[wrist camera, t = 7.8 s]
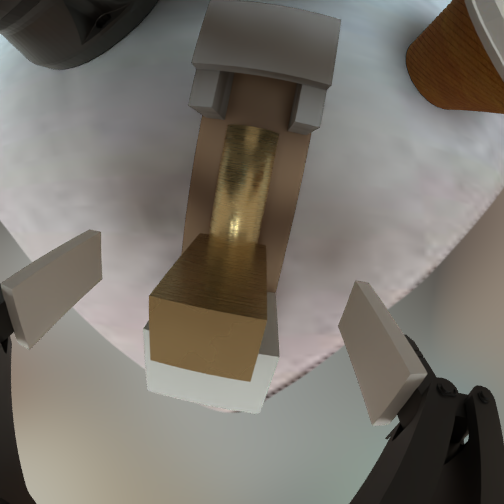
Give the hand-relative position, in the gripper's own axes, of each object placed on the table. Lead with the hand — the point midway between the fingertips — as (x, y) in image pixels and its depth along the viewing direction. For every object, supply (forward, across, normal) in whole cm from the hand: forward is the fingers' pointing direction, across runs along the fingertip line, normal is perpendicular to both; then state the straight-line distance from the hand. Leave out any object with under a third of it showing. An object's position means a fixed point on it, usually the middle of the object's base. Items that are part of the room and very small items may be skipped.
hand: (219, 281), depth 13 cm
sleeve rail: (+7, 0, +3) cm, 7 cm away
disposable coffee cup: (+7, +13, +17) cm, 23 cm away
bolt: (+6, 0, +1) cm, 6 cm away
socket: (+7, 0, -6) cm, 9 cm away
